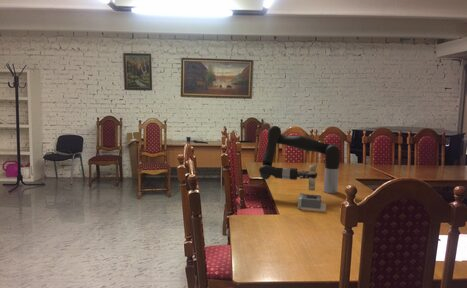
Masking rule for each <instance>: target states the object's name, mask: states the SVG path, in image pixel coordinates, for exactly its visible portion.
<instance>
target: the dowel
mask: <svg viewBox="0 0 467 288" xmlns="http://www.w3.org/2000/svg"><path fill="white" fill-rule="evenodd" d="M316 167H317V165H316V164H309V166H308V171H309V174H310V175H311V174H316V173H317V172H316ZM308 190H309V191H316V178H311V177H310V178H309V179H308Z"/></svg>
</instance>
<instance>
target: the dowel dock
mask: <svg viewBox="0 0 467 288" xmlns="http://www.w3.org/2000/svg"><path fill="white" fill-rule="evenodd" d="M326 208H327V202H326V203H325V202H322V195H318V194H307V193H303V192H300V193H299V195H298V197H297V210H304V211H315V212H325V213H326V212H327V211H326V210H327V209H326Z"/></svg>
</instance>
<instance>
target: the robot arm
mask: <svg viewBox="0 0 467 288" xmlns="http://www.w3.org/2000/svg"><path fill="white" fill-rule="evenodd" d="M266 137H267V142H266V143H267V144H266V147H265V150H264V153H263V158H262V165H261V166H259V170H258V172H259V175H260V177H261V179H263V180H269V179H270V177H271V176H272V177H274V178H275V179H281V180H290V181H291V180H292V181H296V180H298V178H299V179H300V180H301V179H304V180H305V179H306V180H307V179H308V180H309V178H310V177H311V178H315V179H317V177H318V172H316V174H311V175H310V174H309V170H308V171H307V170H299V169H298V168H297V167H296V168H295V167H276V166H273V163H274V159H275V154H276V148H277V144H280V145H285V146H289V147H292V148H296V149H298V150H303V151H307V152H314V153H315V152H316V153H320V154H323V155H324V156H325V164H324V178H323V181H324V182H323V192H324V193H326V194H334V195H335V194H337V193H338V188H339V170H340V167H339V166H340V160H341V151H340V147H338V145H335V144H332V143H325V142H321V141H318V140H316V139H314V138H310V137H307V136H303V135H291V136H290V135H284V134H282V129H281V127H279V126H277V125H272V126H270V127H269V129H268V131H267V135H266Z"/></svg>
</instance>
